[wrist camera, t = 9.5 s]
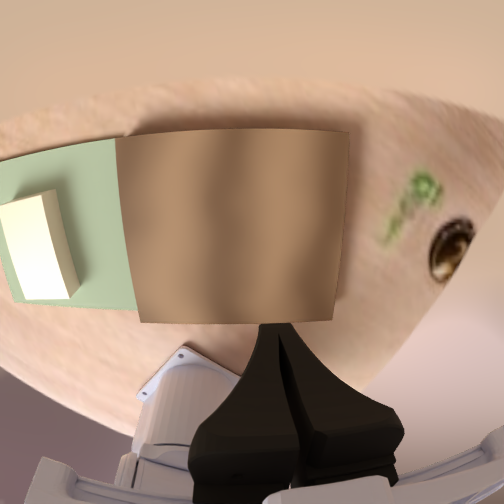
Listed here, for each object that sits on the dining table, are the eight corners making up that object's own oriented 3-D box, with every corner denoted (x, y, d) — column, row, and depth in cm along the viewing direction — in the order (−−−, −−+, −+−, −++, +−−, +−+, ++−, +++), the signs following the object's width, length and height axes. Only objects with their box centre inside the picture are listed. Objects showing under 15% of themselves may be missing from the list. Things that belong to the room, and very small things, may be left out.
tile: (-3, 206, 17) (12, 199, 19) (26, 299, 20) (37, 288, 22) (40, 194, 17) (55, 188, 19) (69, 298, 20) (80, 286, 22)
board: (339, 132, 18) (349, 132, 17) (325, 305, 23) (332, 320, 22) (126, 137, 18) (114, 138, 16) (147, 308, 23) (140, 322, 21)
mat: (119, 137, 18) (117, 137, 18) (141, 307, 23) (140, 310, 23) (-14, 166, 18) (-17, 166, 17) (16, 300, 23) (14, 302, 22)
